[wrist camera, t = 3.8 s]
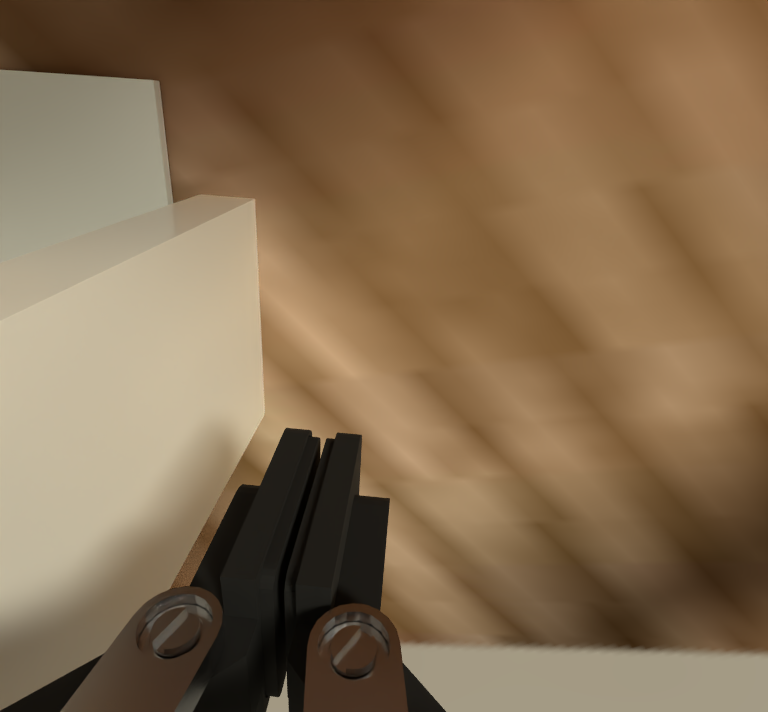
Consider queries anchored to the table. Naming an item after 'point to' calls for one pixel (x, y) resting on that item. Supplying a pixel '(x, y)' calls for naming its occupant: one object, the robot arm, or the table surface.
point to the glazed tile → (118, 421)
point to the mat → (77, 156)
